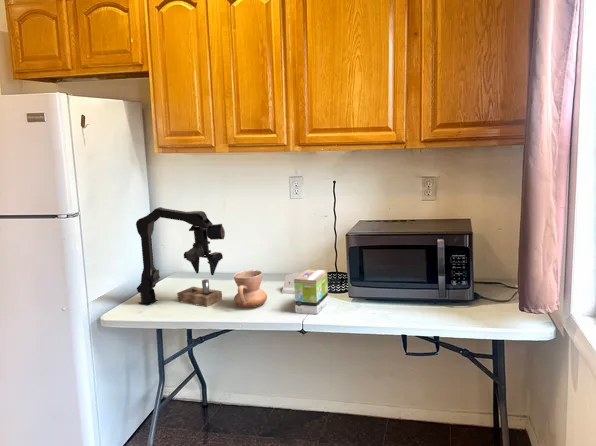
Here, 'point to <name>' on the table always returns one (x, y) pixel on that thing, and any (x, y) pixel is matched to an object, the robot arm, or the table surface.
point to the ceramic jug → (249, 289)
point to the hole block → (199, 296)
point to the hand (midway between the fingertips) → (204, 274)
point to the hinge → (289, 283)
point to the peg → (205, 287)
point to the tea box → (311, 291)
